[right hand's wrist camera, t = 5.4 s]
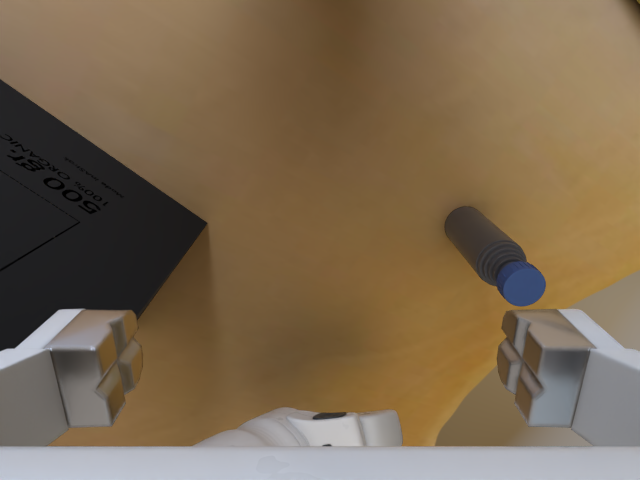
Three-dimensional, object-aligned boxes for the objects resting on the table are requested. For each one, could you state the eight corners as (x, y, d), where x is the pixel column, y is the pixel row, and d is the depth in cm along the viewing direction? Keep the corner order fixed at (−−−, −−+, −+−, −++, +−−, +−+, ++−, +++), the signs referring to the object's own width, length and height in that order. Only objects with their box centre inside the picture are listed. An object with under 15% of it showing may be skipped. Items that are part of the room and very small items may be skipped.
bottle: (478, 201, 58) (544, 253, 41) (487, 235, 60) (555, 300, 43) (440, 214, 59) (489, 271, 42) (450, 248, 61) (501, 316, 43)
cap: (532, 254, 43) (541, 262, 41) (541, 290, 44) (550, 299, 42) (491, 268, 43) (498, 276, 42) (500, 303, 45) (508, 312, 43)
